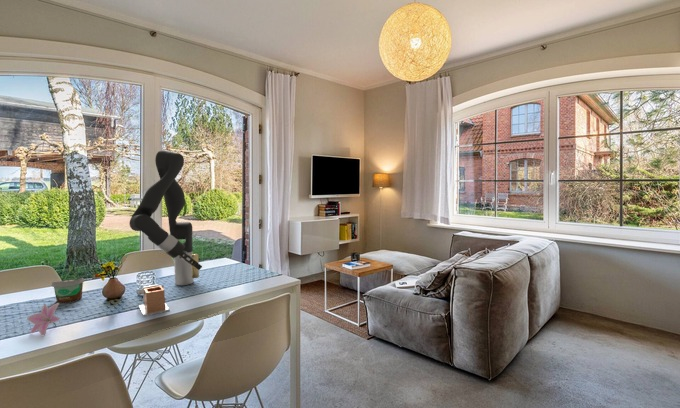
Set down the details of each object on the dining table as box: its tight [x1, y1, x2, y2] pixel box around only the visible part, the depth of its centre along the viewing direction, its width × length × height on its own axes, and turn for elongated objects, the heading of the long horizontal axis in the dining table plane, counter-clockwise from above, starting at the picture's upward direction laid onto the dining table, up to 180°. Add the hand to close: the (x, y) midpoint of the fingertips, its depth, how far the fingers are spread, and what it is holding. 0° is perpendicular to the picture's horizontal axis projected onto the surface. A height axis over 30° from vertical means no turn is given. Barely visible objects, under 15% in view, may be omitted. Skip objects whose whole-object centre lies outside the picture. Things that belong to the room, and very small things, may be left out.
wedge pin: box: [191, 253, 200, 279], centre depth 166 cm, size 3×3×11 cm
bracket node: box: [137, 283, 171, 317], centre depth 152 cm, size 13×10×10 cm
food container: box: [51, 277, 85, 304], centre depth 161 cm, size 12×6×10 cm, turn 117°
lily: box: [27, 302, 60, 336], centre depth 131 cm, size 12×12×10 cm
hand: (199, 267), depth 167 cm, fingers closed on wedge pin, 3 cm apart
